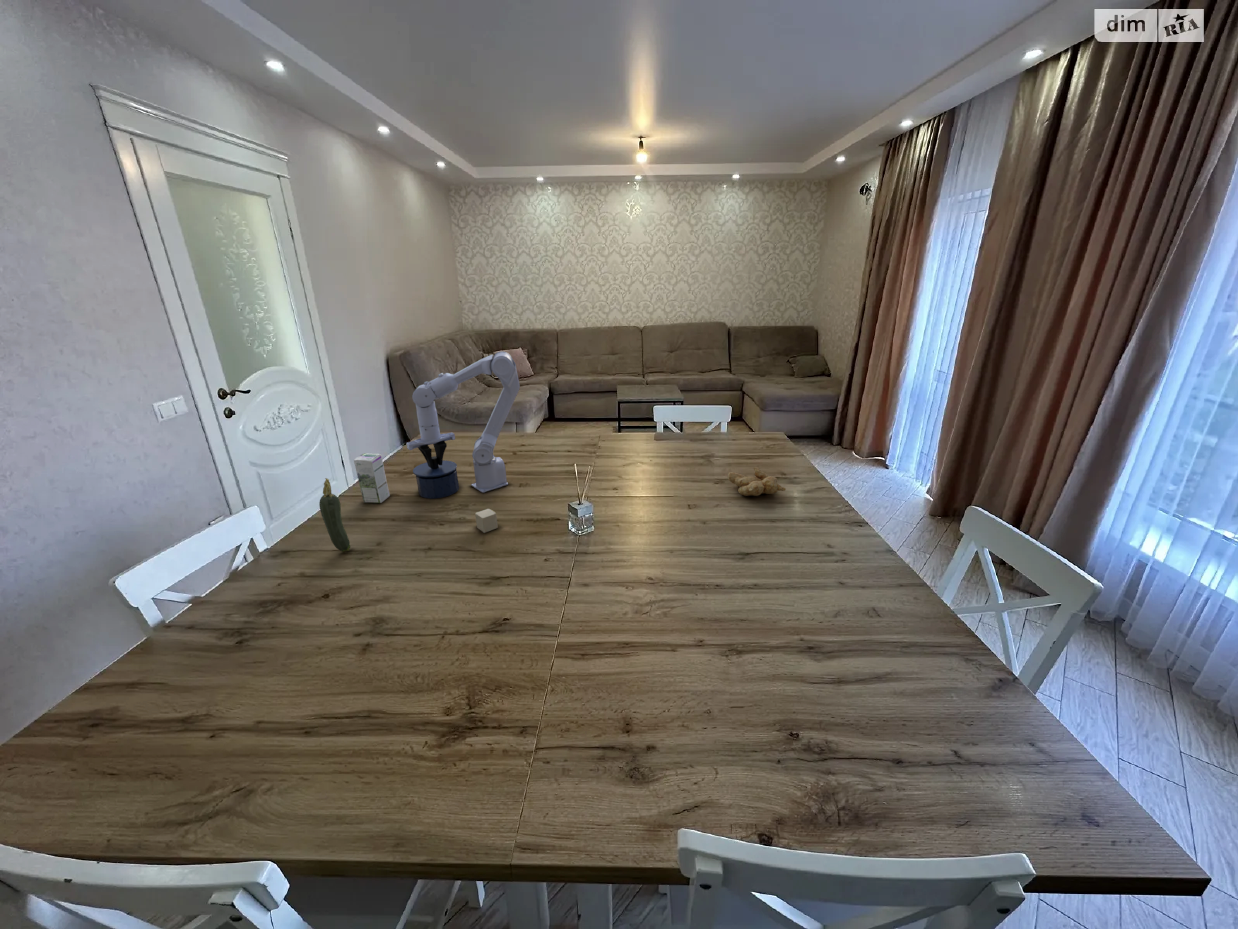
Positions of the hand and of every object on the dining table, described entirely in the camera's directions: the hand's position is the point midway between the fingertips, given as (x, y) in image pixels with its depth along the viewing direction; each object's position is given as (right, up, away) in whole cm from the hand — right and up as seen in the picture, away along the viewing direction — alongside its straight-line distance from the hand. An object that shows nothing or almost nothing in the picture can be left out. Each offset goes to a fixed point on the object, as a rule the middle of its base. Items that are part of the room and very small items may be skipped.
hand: (435, 465), depth 153 cm
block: (+22, -17, -20) cm, 34 cm away
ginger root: (+102, -9, 0) cm, 102 cm away
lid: (0, -1, +1) cm, 1 cm away
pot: (0, -8, +3) cm, 9 cm away
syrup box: (-17, -11, -3) cm, 20 cm away
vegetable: (-12, -22, -31) cm, 40 cm away
